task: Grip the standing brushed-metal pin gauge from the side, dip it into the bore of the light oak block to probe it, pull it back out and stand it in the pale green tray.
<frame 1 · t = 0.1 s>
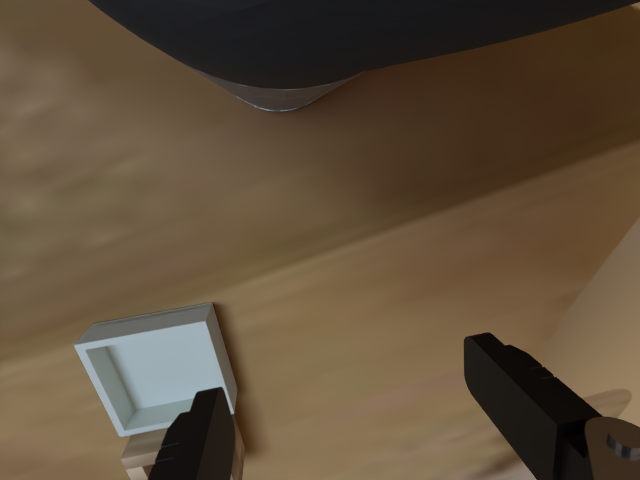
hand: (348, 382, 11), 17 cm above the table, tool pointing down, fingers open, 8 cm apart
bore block: (197, 429, 33), on the table
tray: (170, 359, 29), on the table
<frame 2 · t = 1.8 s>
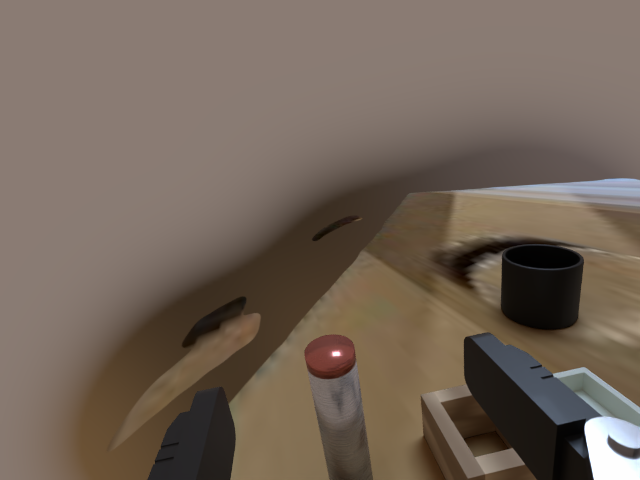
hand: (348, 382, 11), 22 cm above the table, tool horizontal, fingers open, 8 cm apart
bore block: (486, 463, 28), on the table
tray: (580, 440, 29), on the table
mug: (535, 308, 49), on the table
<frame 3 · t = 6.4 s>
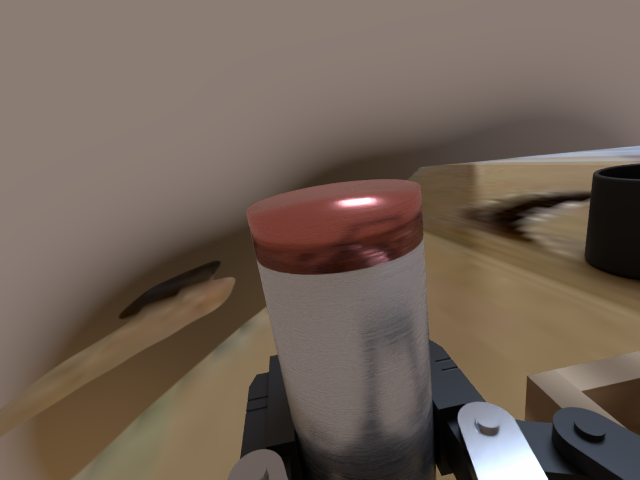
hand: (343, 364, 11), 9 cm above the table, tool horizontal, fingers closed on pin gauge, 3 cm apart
when the fingers open (10 cm above the table, at t = 14.4 s): pin gauge stays where it is, resting on tray.
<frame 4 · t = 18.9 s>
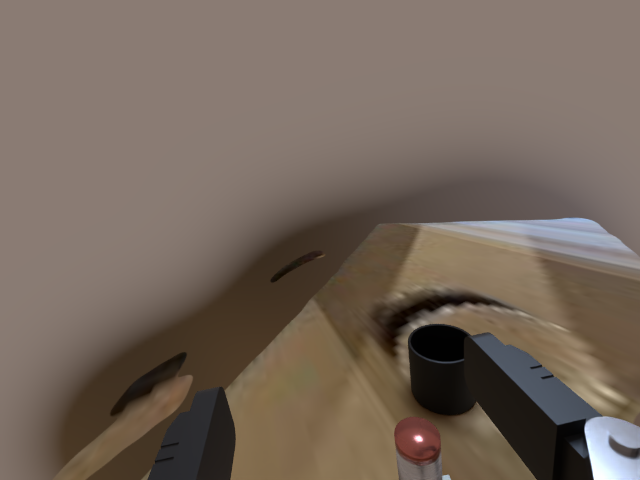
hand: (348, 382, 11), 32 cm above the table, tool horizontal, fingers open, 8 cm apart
mug: (443, 386, 51), on the table
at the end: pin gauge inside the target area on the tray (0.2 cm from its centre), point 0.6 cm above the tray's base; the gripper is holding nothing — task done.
